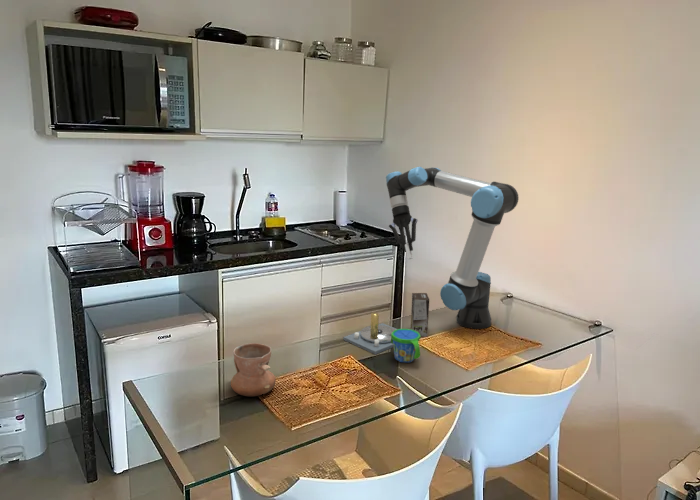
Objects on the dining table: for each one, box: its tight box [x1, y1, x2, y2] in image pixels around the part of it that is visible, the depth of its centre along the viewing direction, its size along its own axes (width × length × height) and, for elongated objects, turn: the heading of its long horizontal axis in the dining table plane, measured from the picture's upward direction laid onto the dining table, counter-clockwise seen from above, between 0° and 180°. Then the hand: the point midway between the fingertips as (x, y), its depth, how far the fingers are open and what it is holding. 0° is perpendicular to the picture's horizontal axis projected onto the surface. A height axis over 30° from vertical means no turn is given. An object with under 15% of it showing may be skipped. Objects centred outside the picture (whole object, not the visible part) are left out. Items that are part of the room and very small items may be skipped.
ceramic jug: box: [230, 342, 277, 398], centre depth 173 cm, size 18×14×14 cm
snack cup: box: [391, 328, 422, 364], centre depth 198 cm, size 16×10×10 cm
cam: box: [360, 312, 395, 343], centre depth 214 cm, size 15×15×12 cm
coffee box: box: [410, 292, 430, 337], centre depth 222 cm, size 9×6×16 cm
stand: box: [342, 322, 398, 355], centre depth 216 cm, size 18×23×4 cm
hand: (410, 258), depth 231 cm, fingers closed
